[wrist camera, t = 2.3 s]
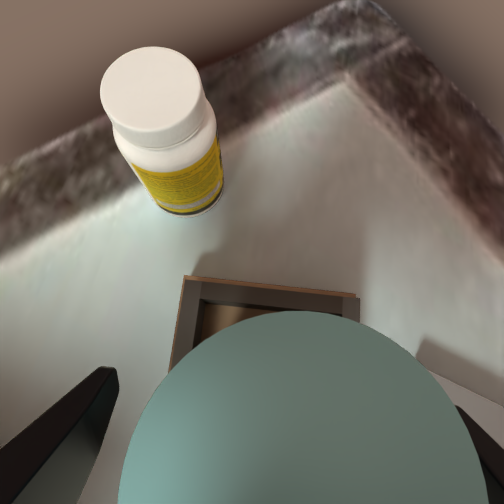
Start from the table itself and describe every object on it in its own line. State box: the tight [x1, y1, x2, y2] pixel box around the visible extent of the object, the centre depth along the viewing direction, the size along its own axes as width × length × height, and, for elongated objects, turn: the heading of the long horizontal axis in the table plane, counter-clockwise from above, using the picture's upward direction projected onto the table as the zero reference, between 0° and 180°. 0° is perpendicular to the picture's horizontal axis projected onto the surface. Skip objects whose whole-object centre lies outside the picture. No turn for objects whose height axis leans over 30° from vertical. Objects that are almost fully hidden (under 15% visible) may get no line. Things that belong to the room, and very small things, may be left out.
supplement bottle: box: [100, 47, 224, 218], centre depth 17 cm, size 5×5×8 cm
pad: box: [427, 369, 504, 449], centre depth 16 cm, size 9×9×2 cm
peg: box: [118, 311, 489, 504], centre depth 10 cm, size 5×5×13 cm
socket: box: [168, 275, 360, 373], centre depth 16 cm, size 9×9×4 cm
